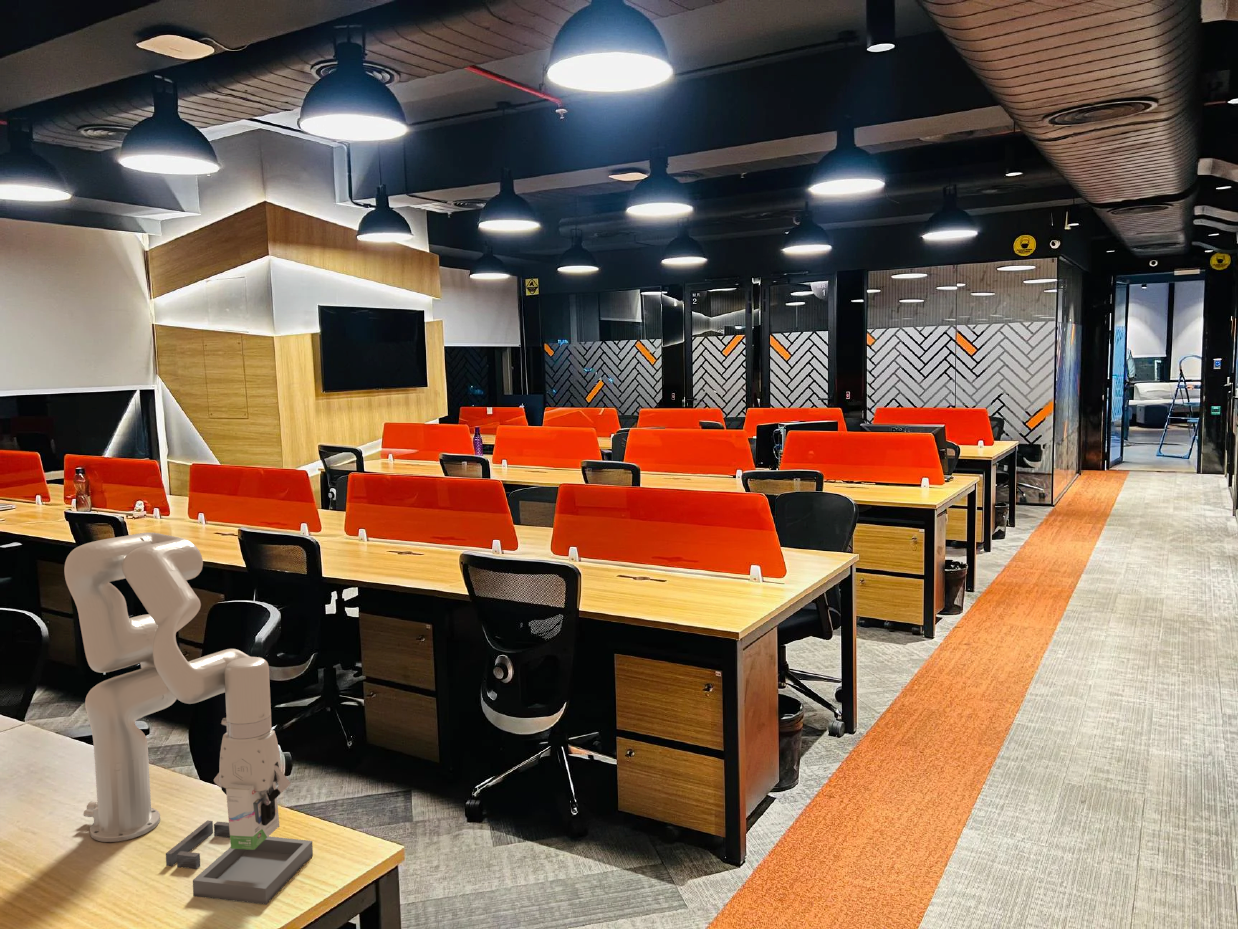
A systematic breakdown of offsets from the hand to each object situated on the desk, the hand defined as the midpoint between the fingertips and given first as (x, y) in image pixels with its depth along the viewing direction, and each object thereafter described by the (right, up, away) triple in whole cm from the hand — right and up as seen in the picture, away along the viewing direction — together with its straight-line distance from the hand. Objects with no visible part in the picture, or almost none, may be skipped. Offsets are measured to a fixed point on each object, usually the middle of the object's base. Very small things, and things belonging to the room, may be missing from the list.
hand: (253, 819), depth 166 cm
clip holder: (-14, -10, +10) cm, 20 cm away
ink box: (0, -4, 0) cm, 4 cm away
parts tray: (0, -11, +1) cm, 11 cm away
